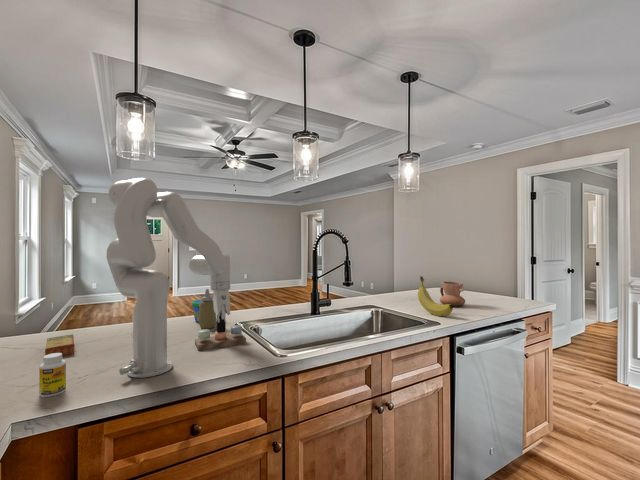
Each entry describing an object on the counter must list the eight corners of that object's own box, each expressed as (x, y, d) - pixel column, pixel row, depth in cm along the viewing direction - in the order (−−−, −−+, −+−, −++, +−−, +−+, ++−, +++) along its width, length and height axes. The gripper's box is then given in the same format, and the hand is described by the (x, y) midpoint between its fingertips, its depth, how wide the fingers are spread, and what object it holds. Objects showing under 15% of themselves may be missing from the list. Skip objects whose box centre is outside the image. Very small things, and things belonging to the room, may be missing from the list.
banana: (456, 318, 169) (456, 279, 169) (448, 319, 166) (448, 280, 166) (422, 310, 189) (422, 275, 189) (415, 311, 186) (415, 276, 186)
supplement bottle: (38, 400, 84) (37, 360, 84) (40, 392, 89) (40, 354, 89) (65, 394, 87) (65, 356, 87) (66, 386, 92) (66, 350, 92)
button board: (198, 350, 121) (198, 344, 121) (194, 344, 129) (194, 338, 129) (246, 343, 129) (246, 337, 129) (240, 337, 137) (240, 332, 137)
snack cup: (211, 324, 159) (211, 303, 159) (188, 325, 157) (188, 304, 157) (215, 317, 174) (215, 297, 174) (195, 317, 172) (195, 298, 172)
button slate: (232, 334, 129) (232, 328, 129) (229, 332, 133) (229, 326, 133) (243, 333, 131) (243, 327, 131) (240, 330, 135) (240, 324, 135)
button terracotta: (215, 340, 126) (215, 334, 126) (213, 337, 130) (213, 331, 130) (227, 338, 128) (227, 332, 128) (225, 335, 132) (225, 330, 132)
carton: (44, 360, 113) (44, 348, 113) (46, 348, 126) (46, 337, 126) (74, 355, 118) (74, 343, 118) (73, 344, 131) (73, 333, 131)
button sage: (198, 339, 123) (198, 333, 123) (197, 336, 127) (197, 330, 127) (211, 337, 125) (211, 331, 125) (209, 334, 129) (209, 328, 129)
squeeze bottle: (210, 330, 148) (210, 290, 148) (194, 329, 150) (194, 290, 150) (219, 325, 156) (219, 288, 156) (204, 324, 158) (204, 287, 158)
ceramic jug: (472, 307, 196) (472, 283, 196) (453, 309, 191) (453, 284, 191) (450, 302, 213) (450, 280, 213) (432, 303, 208) (432, 281, 208)
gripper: (234, 287, 124) (235, 335, 125) (226, 282, 138) (226, 326, 138) (214, 289, 121) (214, 338, 121) (207, 284, 134) (208, 328, 134)
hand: (221, 331), depth 129 cm, fingers closed
